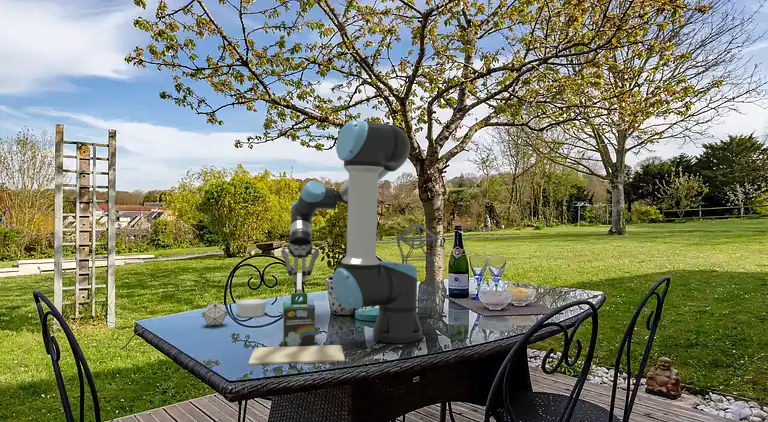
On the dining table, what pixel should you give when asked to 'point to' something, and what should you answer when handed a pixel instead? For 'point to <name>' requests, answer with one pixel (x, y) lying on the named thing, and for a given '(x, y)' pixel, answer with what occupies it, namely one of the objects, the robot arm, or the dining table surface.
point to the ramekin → (251, 307)
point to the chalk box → (298, 322)
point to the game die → (214, 314)
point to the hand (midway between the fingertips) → (299, 291)
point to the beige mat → (296, 354)
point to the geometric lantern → (421, 259)
